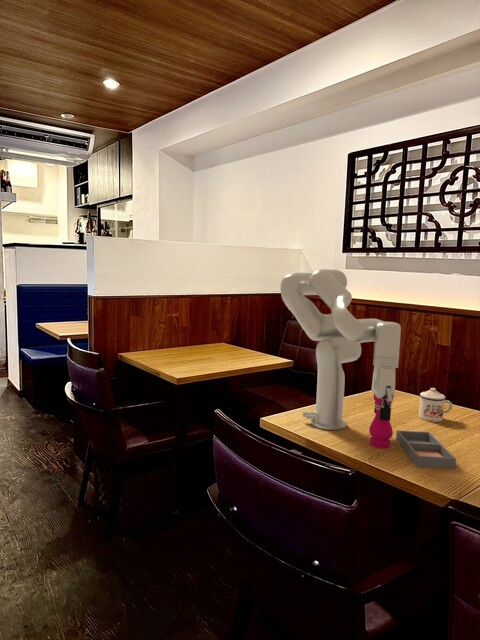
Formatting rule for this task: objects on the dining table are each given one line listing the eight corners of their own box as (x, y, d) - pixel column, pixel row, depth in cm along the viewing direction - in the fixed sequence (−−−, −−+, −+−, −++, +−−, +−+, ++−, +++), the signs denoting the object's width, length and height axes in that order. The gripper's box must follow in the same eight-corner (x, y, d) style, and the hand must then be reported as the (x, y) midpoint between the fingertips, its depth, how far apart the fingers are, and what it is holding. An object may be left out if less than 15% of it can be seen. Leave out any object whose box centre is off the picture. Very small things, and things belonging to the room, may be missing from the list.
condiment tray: (417, 467, 130) (417, 456, 130) (396, 439, 151) (396, 430, 151) (455, 468, 130) (456, 458, 130) (428, 440, 151) (429, 431, 150)
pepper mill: (393, 450, 142) (397, 388, 139) (369, 448, 143) (373, 386, 141) (390, 441, 149) (394, 382, 146) (367, 439, 150) (371, 380, 148)
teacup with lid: (421, 421, 170) (424, 391, 168) (415, 413, 179) (417, 384, 177) (455, 423, 168) (458, 393, 167) (446, 415, 177) (449, 386, 176)
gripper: (367, 355, 151) (364, 407, 154) (380, 366, 134) (376, 425, 136) (390, 356, 151) (386, 408, 153) (406, 367, 134) (402, 426, 136)
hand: (381, 416), depth 145 cm, fingers open, 5 cm apart
